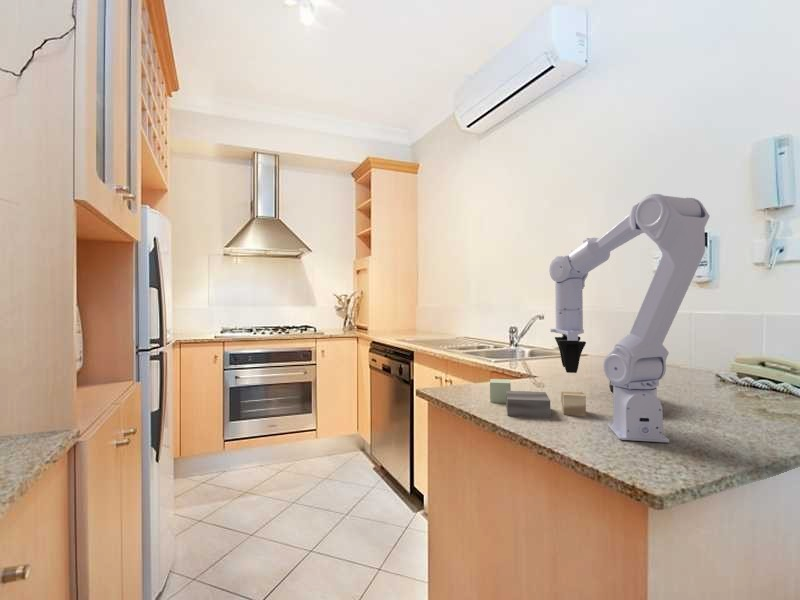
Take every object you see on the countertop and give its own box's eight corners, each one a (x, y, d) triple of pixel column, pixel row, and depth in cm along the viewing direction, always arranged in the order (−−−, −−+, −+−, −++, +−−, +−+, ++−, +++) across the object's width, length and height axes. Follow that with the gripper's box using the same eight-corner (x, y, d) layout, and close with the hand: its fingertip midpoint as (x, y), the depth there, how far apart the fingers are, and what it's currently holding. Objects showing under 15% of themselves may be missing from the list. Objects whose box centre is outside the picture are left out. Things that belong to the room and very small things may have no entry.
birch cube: (585, 416, 91) (585, 395, 91) (564, 415, 92) (563, 394, 92) (582, 411, 96) (581, 391, 96) (561, 410, 97) (561, 390, 97)
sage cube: (510, 403, 104) (510, 383, 104) (490, 402, 105) (489, 382, 105) (510, 398, 108) (510, 379, 108) (490, 397, 110) (490, 378, 110)
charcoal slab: (550, 419, 90) (550, 400, 90) (507, 417, 92) (507, 399, 92) (545, 408, 99) (545, 391, 99) (506, 407, 101) (506, 390, 101)
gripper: (548, 309, 103) (549, 364, 103) (552, 310, 89) (553, 374, 89) (579, 309, 101) (579, 365, 101) (588, 310, 87) (589, 375, 87)
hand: (569, 369), depth 95 cm, fingers open, 7 cm apart
